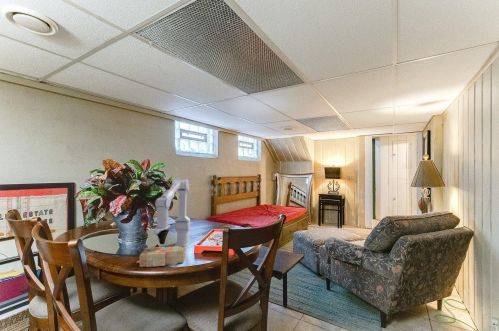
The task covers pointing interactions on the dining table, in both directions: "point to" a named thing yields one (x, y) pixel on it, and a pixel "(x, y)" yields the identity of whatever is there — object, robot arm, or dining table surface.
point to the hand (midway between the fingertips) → (162, 243)
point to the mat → (166, 263)
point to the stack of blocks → (162, 255)
